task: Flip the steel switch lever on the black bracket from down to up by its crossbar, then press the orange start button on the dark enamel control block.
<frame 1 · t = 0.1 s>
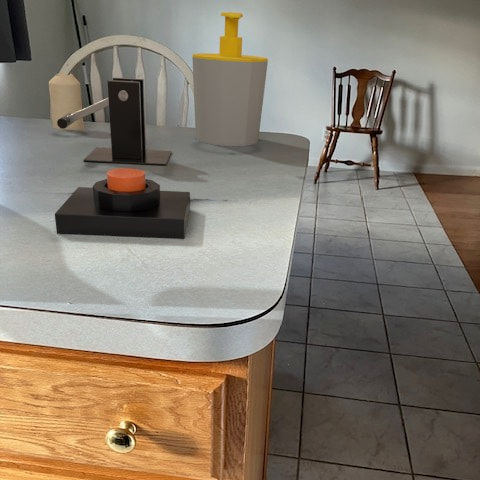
switch lever: (98, 106, 79), point 8 cm above the table, hinge at -25.0°
start button: (126, 180, 58), point 4 cm above the table, slide at 0.1 cm
switch bracket: (129, 163, 83), on the table
candle: (69, 132, 103), on the table
control block: (128, 221, 60), on the table
soap bottle: (226, 145, 100), on the table
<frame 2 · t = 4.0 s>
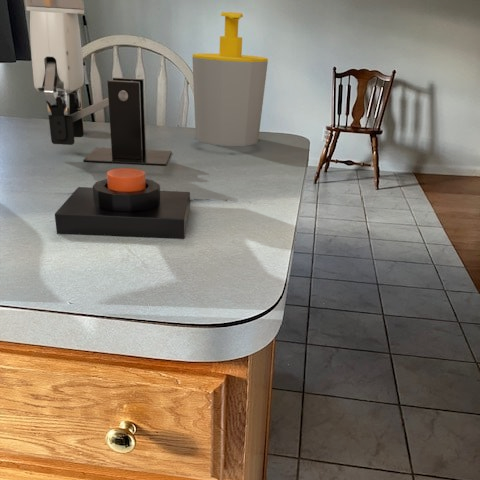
hand: (68, 138, 81), 3 cm above the table, tool pointing down, fingers closed on switch lever, 5 cm apart
switch lever: (98, 106, 79), point 8 cm above the table, hinge at -25.0°, touching gripper
everything else where it was.
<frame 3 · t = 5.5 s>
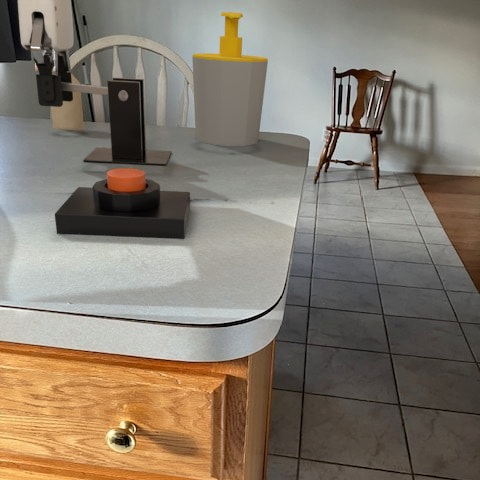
hand: (56, 101, 79), 8 cm above the table, tool pointing down, fingers closed on switch lever, 5 cm apart
switch lever: (94, 89, 78), point 10 cm above the table, hinge at 3.3°, touching gripper
everything else where it was.
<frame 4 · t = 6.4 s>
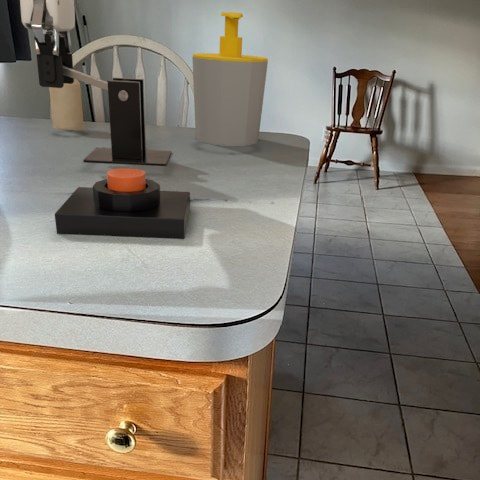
hand: (57, 83, 78), 11 cm above the table, tool pointing down, fingers closed on switch lever, 5 cm apart
switch lever: (94, 81, 78), point 11 cm above the table, hinge at 16.6°, touching gripper
everything else where it was.
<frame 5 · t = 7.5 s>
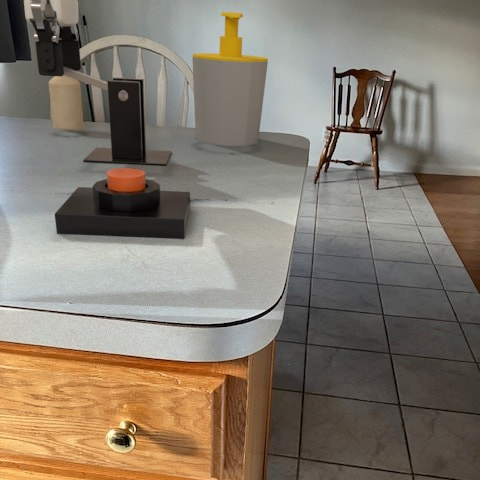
hand: (61, 72, 77), 12 cm above the table, tool pointing down, fingers open, 9 cm apart
switch lever: (94, 81, 78), point 11 cm above the table, hinge at 16.4°
everything else where it was.
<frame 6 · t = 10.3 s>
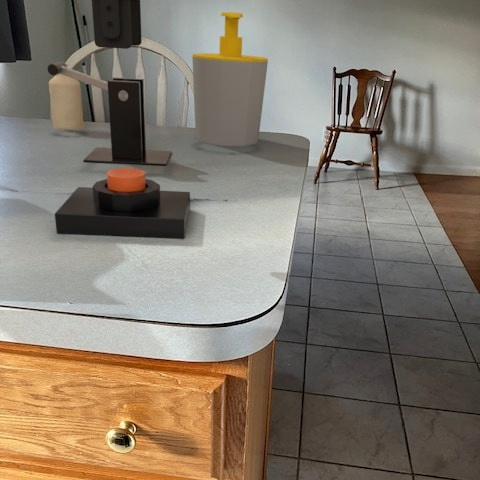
hand: (119, 44, 51), 18 cm above the table, tool pointing down, fingers open, 5 cm apart
nothing on the table moved.
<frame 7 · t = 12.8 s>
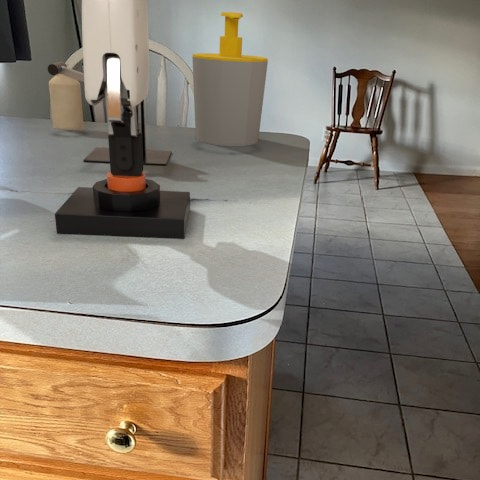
hand: (127, 173, 57), 5 cm above the table, tool pointing down, fingers closed
start button: (126, 181, 58), point 4 cm above the table, slide at 0.0 cm, touching gripper
everything else where it was.
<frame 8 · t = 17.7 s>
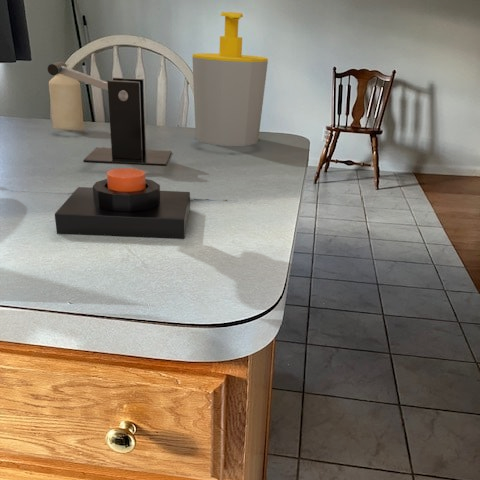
start button: (126, 180, 58), point 4 cm above the table, slide at 0.1 cm
everything else where it was.
at the end: switch lever at +16° (first picture: -25°); start button pushed in 1.1 cm at the most during the clip, back to where it started at the end; start button slide at 0.1 cm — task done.
